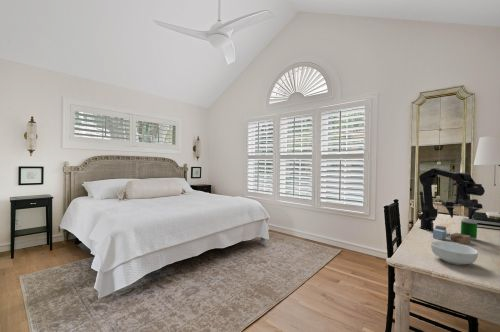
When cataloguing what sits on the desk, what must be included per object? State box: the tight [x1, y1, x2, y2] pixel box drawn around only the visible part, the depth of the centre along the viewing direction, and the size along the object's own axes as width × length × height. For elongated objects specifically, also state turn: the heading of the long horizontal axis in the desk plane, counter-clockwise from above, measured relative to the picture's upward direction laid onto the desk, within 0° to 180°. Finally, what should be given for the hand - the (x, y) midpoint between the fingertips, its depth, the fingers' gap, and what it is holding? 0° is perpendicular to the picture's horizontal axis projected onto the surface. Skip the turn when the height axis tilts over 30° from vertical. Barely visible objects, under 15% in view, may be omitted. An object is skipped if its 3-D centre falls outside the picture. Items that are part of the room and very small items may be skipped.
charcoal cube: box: [434, 225, 447, 232], centre depth 159 cm, size 5×5×5 cm
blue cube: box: [432, 228, 447, 241], centre depth 150 cm, size 5×5×5 cm
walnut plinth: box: [449, 232, 471, 245], centre depth 144 cm, size 7×7×4 cm
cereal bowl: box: [430, 240, 479, 266], centre depth 114 cm, size 17×17×7 cm
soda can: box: [460, 217, 478, 241], centre depth 151 cm, size 8×8×12 cm
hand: (460, 218), depth 148 cm, fingers open, 9 cm apart
